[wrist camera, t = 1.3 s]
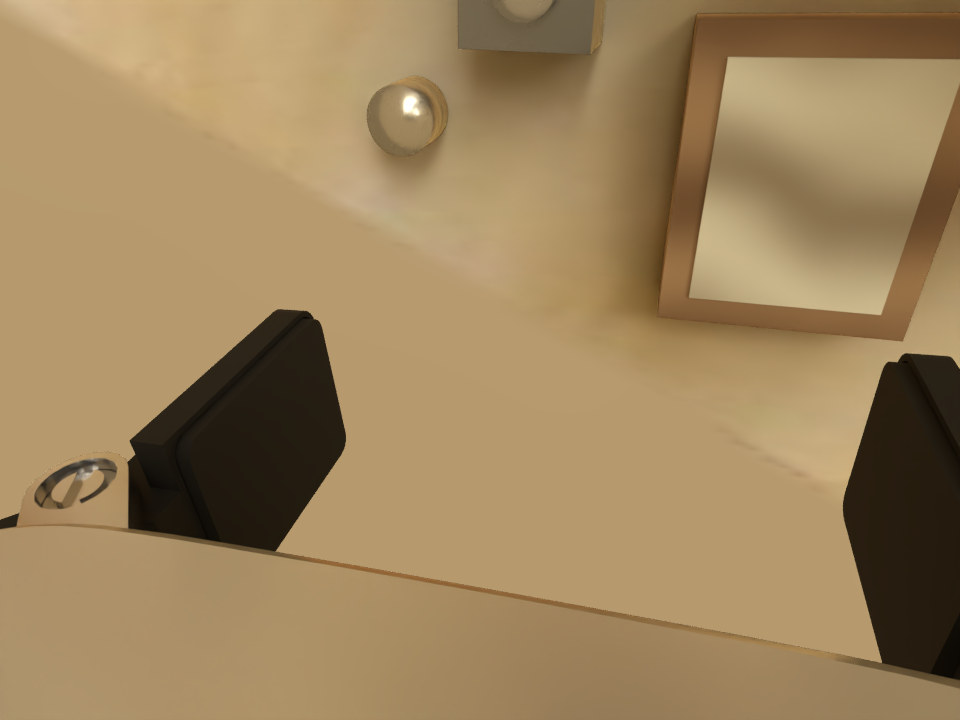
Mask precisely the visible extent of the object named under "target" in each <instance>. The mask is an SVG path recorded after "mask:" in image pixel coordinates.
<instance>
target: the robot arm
mask: <svg viewBox="0 0 960 720" xmlns="http://www.w3.org/2000/svg"><path fill="white" fill-rule="evenodd" d="M345 442H346V433H345V428H344V424H343V420H342V415H341V411H340V406H339V402H338V397H337V393H336V388H335V384H334V379H333V375H332V370H331V366H330V361H329V357H328V352H327V348H326V343H325V339H324V334H323V330H322V327H321V324H320V322H319V321H318V320H315V319H314V318H313V316H312V315H311V314H310V313H309V312H307V311H297V310H282V309H280V310H279V309H278V310H276V311H274V312H273V313H272V314H271V315H270V316H269V317H268V318H266V319H265V320H264V321H263V322H262V323H261V324H260V325H259V326H258V327H256V328H255V329H254V330H253V331H252V332H251V333H250V334H249V335H247V336H246V337H245V338H244V339H243V340H242V341H241V342H240V343H238V344H237V345H236V346H235V347H234V348H233V349H232V350H231V351H229V352H228V353H227V354H226V355H225V356H224V357H223V358H222V359H220V360H219V361H218V362H217V363H216V364H215V365H214V366H213V367H211V368H210V369H209V370H208V371H207V372H206V373H205V374H204V375H203V376H202V377H200V378H199V379H198V380H197V381H196V382H195V383H194V384H192V385H191V386H190V387H189V388H188V389H187V390H186V391H185V392H183V393H182V394H181V395H180V396H179V397H178V398H177V399H176V400H175V401H173V402H172V403H171V404H170V405H169V406H168V407H167V408H166V409H164V410H163V411H162V412H161V413H160V414H159V415H158V416H157V417H155V418H154V419H153V420H152V421H151V422H150V423H149V424H148V425H147V426H146V427H144V428H143V429H142V430H141V431H140V432H139V433H138V434H136V436H134V437H133V438H132V439H131V440H130V443H131V445H132V447H133V450H134V452H135V454H136V455H135V456H134V457H132V459H130V460H129V461H128V462H127V460H126V459H125V458H123V457H122V456H121V455H120V454H116V453H112V452H93V453H89V454H84V455H80V456H77V457H74V458H71V459H68V460H66V461H63V462H61V463H60V464H58V465H56V466H54V467H52V468H50V469H48V470H47V471H46V472H44V473H43V474H42V475H40V476H39V477H38V478H36V479H35V481H34V482H33V483H32V484H31V485H30V486H29V487H28V488H27V490H26V492H25V494H24V496H23V499H22V503H21V508H20V512H19V513H18V514H15V515H12V516H10V517H7V518H4V519H1V520H0V720H960V369H959V367H958V366H957V364H956V363H955V361H954V360H953V359H952V358H951V357H948V356H936V355H921V354H907V353H905V354H904V355H902V356H901V358H900V359H899V361H898V362H888V363H886V365H885V366H884V368H883V371H882V374H881V377H880V380H879V384H878V387H877V390H876V393H875V397H874V400H873V403H872V406H871V410H870V413H869V416H868V420H867V423H866V426H865V429H864V433H863V436H862V439H861V442H860V446H859V449H858V452H857V455H856V459H855V462H854V465H853V469H852V472H851V475H850V478H849V482H848V485H847V488H846V491H845V495H844V501H843V516H844V521H845V525H846V528H847V532H848V535H849V540H850V543H851V547H852V551H853V555H854V558H855V562H856V566H857V569H858V573H859V577H860V581H861V585H862V588H863V592H864V596H865V600H866V603H867V607H868V611H869V614H870V618H871V622H872V626H873V629H874V633H875V637H876V641H877V645H878V648H879V652H880V656H881V660H882V663H878V662H873V661H869V660H864V659H860V658H855V657H850V656H845V655H841V654H835V653H830V652H825V651H820V650H814V649H809V648H803V647H798V646H793V645H787V644H783V643H777V642H773V641H767V640H763V639H757V638H753V637H747V636H742V635H736V634H731V633H726V632H720V631H715V630H709V629H704V628H699V627H693V626H688V625H682V624H677V623H671V622H666V621H661V620H655V619H650V618H644V617H639V616H633V615H627V614H622V613H617V612H612V611H606V610H601V609H596V608H590V607H585V606H579V605H574V604H568V603H563V602H557V601H551V600H546V599H540V598H535V597H529V596H524V595H519V594H513V593H507V592H501V591H496V590H491V589H485V588H480V587H474V586H468V585H463V584H457V583H451V582H446V581H440V580H434V579H429V578H423V577H418V576H412V575H407V574H401V573H395V572H390V571H384V570H379V569H373V568H367V567H361V566H356V565H350V564H344V563H338V562H332V561H326V560H321V559H315V558H309V557H304V556H297V555H292V554H285V553H280V552H275V551H276V550H277V548H278V547H279V545H280V544H281V542H282V541H283V539H284V538H285V537H286V535H287V534H288V532H289V531H290V529H291V528H292V526H293V525H294V523H295V522H296V520H297V519H298V517H299V516H300V514H301V513H302V511H303V510H304V509H305V507H306V506H307V504H308V503H309V501H310V500H311V498H312V497H313V495H314V494H315V492H316V491H317V489H318V488H319V486H320V485H321V483H322V482H323V480H324V479H325V477H326V476H327V475H328V473H329V472H330V470H331V469H332V467H333V466H334V464H335V463H336V461H337V460H338V458H339V457H340V456H341V454H342V452H343V450H344V447H345Z"/></svg>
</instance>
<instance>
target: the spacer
mask: <svg viewBox="0 0 960 720" xmlns="http://www.w3.org/2000/svg"><path fill="white" fill-rule="evenodd" d="M447 119H448V107H447V103H446V100H445V97H444V95H443V93H442V92H441V90H440V89H439V88H438V87H437V86H436V85H435V84H434V83H433V82H431V81H430V80H428V79H426V78H423V77H418V76H411V77H407V78H404V79H402V80H400V81H397V82H395V83H393V84H391V85H388V86H386V87H384V88H382V89H380V90H379V91H378V92H376V93H375V95H374V96H373V97H372V99H371V101H370V103H369V106H368V110H367V123H368V128H369V131H370V133H371V135H372V137H373V139H374V140H375V142H376V143H377V144H378V145H379V146H380V147H381V148H382V149H383V150H385V151H386V152H388V153H390V154H392V155H396V156H410V155H413V154H415V153H417V152H419V151H420V150H421V149H423V148H424V147H425V146H427V145H428V144H429V143H431V142H432V141H433V140H435V139H436V138H437V137H438V136H440V134H441V133H442V132H443V130H444V129H445V126H446V123H447Z"/></svg>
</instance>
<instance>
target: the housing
mask: <svg viewBox="0 0 960 720" xmlns="http://www.w3.org/2000/svg"><path fill="white" fill-rule="evenodd" d="M605 6H606V0H458V49H476V50H498V51H519V52H540V53H561V54H583V55H590V54H591V53H592V52H593V51H594V50H595V49H596V48H597V47H598V46H599V45H600V44H601V43H602V36H603V26H604V16H605Z"/></svg>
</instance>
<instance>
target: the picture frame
mask: <svg viewBox="0 0 960 720" xmlns="http://www.w3.org/2000/svg"><path fill="white" fill-rule="evenodd" d="M959 187H960V13H714V14H697V16H696V23H695V31H694V38H693V45H692V53H691V60H690V67H689V75H688V82H687V89H686V97H685V104H684V111H683V118H682V126H681V133H680V140H679V148H678V155H677V162H676V170H675V177H674V184H673V192H672V199H671V206H670V214H669V221H668V228H667V236H666V243H665V250H664V258H663V265H662V272H661V280H660V287H659V299H658V315H657V317H661V318H671V319H681V320H691V321H701V322H711V323H721V324H731V325H742V326H752V327H762V328H772V329H782V330H792V331H802V332H812V333H823V334H833V335H843V336H853V337H863V338H873V339H883V340H893V341H903V339H904V337H905V334H906V331H907V328H908V326H909V323H910V320H911V318H912V315H913V312H914V309H915V307H916V304H917V301H918V299H919V296H920V293H921V291H922V288H923V285H924V282H925V280H926V277H927V274H928V272H929V269H930V266H931V263H932V261H933V258H934V255H935V253H936V250H937V247H938V244H939V242H940V239H941V236H942V234H943V231H944V228H945V225H946V223H947V220H948V217H949V215H950V212H951V209H952V206H953V204H954V201H955V198H956V196H957V193H958V190H959Z"/></svg>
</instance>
